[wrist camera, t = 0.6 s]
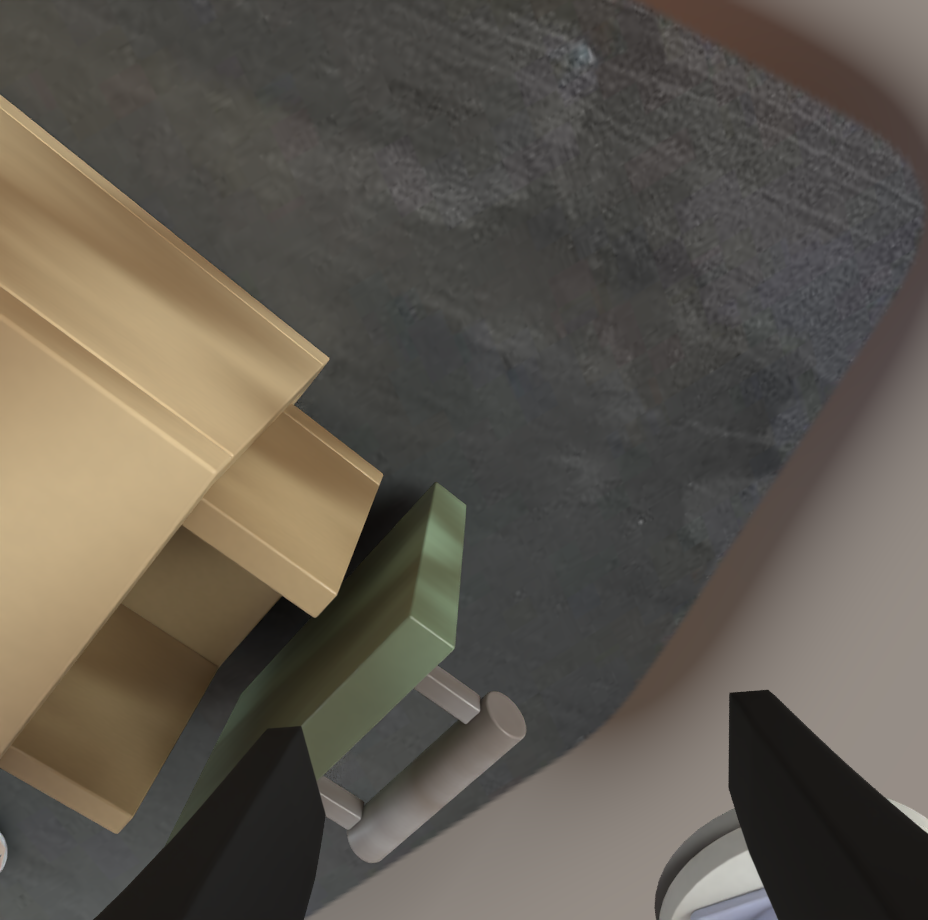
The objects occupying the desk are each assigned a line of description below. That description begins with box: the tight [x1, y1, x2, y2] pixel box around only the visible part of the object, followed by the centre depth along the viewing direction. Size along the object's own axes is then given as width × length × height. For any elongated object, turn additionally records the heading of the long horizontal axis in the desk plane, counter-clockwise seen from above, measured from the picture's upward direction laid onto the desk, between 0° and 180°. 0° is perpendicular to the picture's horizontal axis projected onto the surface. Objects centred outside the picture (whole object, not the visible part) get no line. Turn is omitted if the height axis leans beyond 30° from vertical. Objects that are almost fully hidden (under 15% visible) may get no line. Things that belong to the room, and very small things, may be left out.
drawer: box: [0, 403, 526, 863], centre depth 18 cm, size 17×10×7 cm, turn 50°
